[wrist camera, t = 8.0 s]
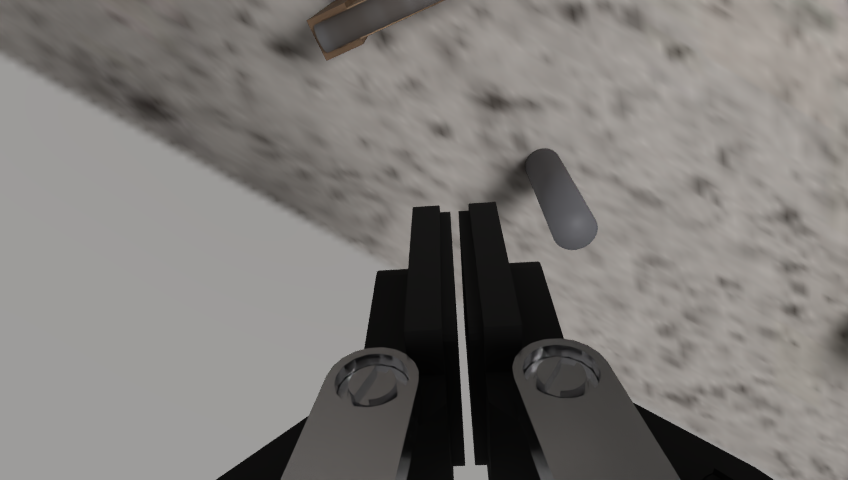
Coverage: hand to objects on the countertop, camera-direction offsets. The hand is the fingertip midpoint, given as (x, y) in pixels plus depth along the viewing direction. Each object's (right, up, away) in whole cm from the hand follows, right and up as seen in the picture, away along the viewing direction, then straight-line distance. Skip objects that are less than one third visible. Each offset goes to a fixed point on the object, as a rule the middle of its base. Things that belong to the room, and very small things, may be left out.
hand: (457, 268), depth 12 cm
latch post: (+6, +5, +20) cm, 22 cm away
